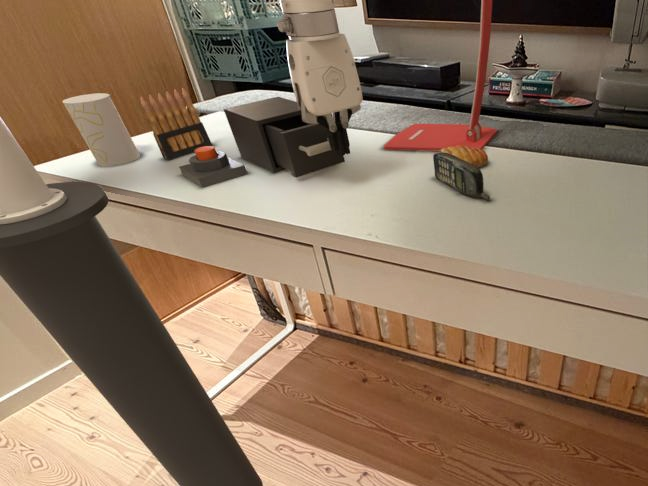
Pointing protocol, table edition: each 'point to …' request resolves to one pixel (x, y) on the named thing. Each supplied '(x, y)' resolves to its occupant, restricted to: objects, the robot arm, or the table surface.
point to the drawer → (300, 146)
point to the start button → (206, 153)
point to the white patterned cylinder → (102, 128)
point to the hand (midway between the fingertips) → (341, 153)
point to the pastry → (468, 154)
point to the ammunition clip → (176, 126)
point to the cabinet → (258, 128)
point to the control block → (212, 169)
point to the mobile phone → (459, 174)
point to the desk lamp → (455, 133)
